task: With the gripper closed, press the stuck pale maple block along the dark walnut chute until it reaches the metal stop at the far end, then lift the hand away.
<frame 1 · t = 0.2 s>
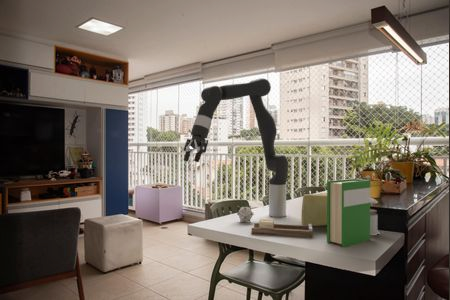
hand: (190, 161, 138), 31 cm above the table, tool tilted 20°, fingers open, 8 cm apart
grey bumpy ball: (245, 222, 158), on the table
hardback book: (348, 241, 125), on the table
french press: (366, 232, 140), on the table
cheese: (321, 225, 153), on the table
maple block: (266, 224, 139), point 3 cm above the table, slide at 0.0 cm
chute: (281, 232, 137), on the table
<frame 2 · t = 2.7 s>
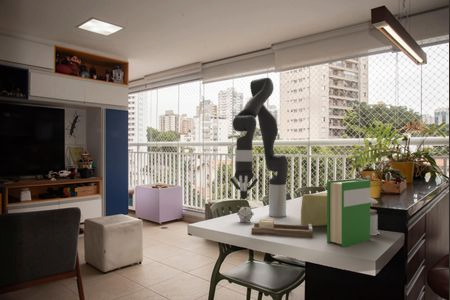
hand: (243, 199, 141), 14 cm above the table, tool pointing down, fingers closed
nothing on the table moved.
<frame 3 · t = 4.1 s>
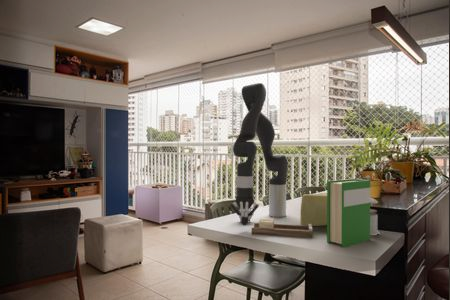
hand: (244, 224, 141), 2 cm above the table, tool pointing down, fingers closed
nothing on the table moved.
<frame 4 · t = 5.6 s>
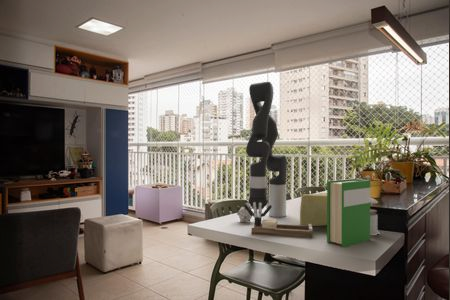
hand: (257, 225, 140), 2 cm above the table, tool pointing down, fingers closed
maple block: (269, 225, 139), point 3 cm above the table, slide at 1.3 cm, touching gripper
everything else where it was.
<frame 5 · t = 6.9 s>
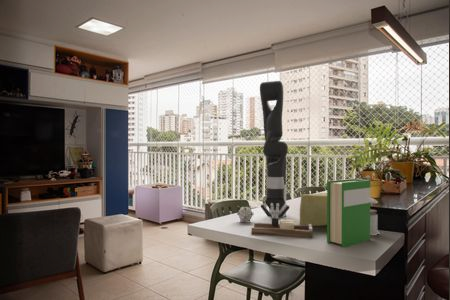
hand: (275, 226, 138), 2 cm above the table, tool pointing down, fingers closed
maple block: (287, 225, 137), point 3 cm above the table, slide at 8.8 cm, touching gripper
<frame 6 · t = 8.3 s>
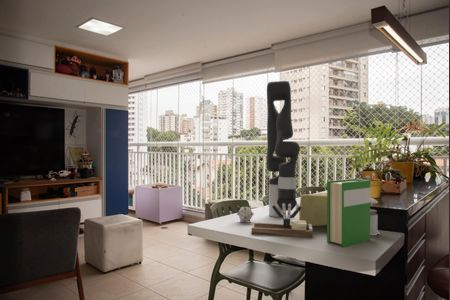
hand: (286, 227, 137), 2 cm above the table, tool pointing down, fingers closed
maple block: (298, 226, 136), point 3 cm above the table, slide at 13.8 cm, touching gripper
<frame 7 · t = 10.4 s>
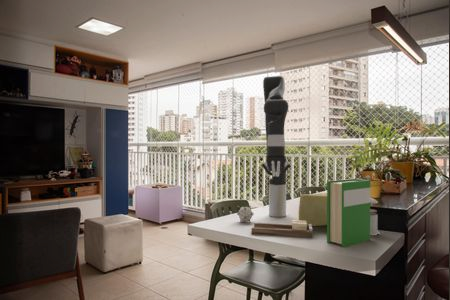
hand: (275, 185, 138), 21 cm above the table, tool pointing down, fingers closed
maple block: (299, 226, 136), point 3 cm above the table, slide at 14.0 cm
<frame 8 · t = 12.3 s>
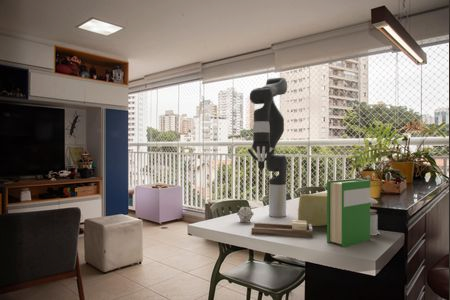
hand: (261, 169, 145), 27 cm above the table, tool pointing down, fingers closed
at the end: maple block slide at 14.0 cm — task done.
